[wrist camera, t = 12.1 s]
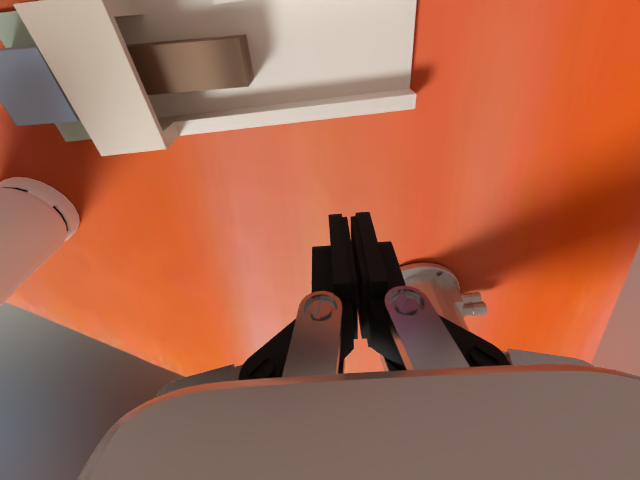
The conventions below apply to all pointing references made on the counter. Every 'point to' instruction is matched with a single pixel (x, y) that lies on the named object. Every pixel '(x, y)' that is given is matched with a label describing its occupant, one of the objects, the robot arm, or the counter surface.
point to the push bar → (193, 64)
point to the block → (32, 88)
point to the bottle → (30, 229)
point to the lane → (220, 104)
